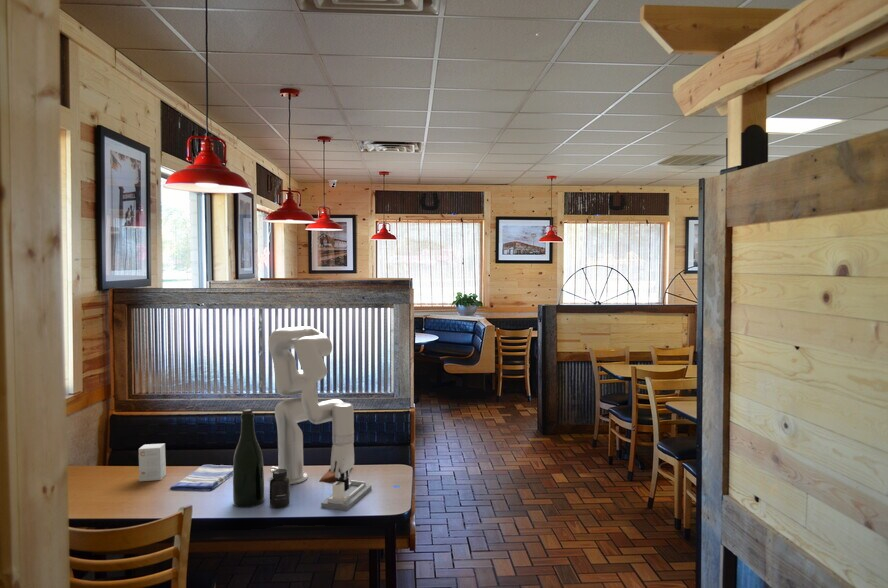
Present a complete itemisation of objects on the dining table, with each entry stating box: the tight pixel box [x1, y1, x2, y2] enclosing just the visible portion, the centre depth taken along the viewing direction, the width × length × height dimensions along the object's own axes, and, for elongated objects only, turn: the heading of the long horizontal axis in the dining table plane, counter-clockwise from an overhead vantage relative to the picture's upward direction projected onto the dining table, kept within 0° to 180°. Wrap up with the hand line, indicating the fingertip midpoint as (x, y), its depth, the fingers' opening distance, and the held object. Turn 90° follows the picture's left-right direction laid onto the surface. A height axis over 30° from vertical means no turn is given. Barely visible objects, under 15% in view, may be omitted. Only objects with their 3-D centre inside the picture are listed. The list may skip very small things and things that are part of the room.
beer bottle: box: [232, 408, 265, 508], centre depth 198 cm, size 10×10×33 cm
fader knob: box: [331, 481, 344, 499], centre depth 195 cm, size 3×3×6 cm
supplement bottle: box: [269, 469, 291, 509], centre depth 195 cm, size 7×7×12 cm
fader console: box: [320, 479, 372, 511], centre depth 201 cm, size 20×10×3 cm, turn 163°
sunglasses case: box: [318, 467, 339, 483], centre depth 225 cm, size 18×7×7 cm
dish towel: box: [169, 464, 233, 492], centre depth 221 cm, size 17×24×3 cm
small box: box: [137, 443, 167, 482], centre depth 222 cm, size 8×6×13 cm
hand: (343, 489), depth 199 cm, fingers closed
